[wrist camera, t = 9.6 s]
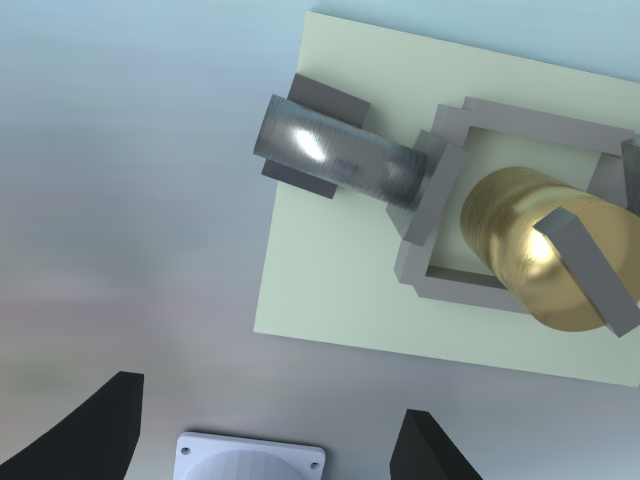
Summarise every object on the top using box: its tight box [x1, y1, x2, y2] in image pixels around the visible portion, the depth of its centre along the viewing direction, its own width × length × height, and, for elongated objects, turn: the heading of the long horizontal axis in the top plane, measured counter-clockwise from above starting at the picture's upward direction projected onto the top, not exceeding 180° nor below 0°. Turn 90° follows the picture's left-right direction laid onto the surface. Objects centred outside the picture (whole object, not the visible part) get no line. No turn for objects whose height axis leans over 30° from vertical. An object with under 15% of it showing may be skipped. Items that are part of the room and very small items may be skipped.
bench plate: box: [253, 11, 640, 387], centre depth 20 cm, size 14×20×2 cm
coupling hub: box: [460, 166, 640, 338], centre depth 17 cm, size 5×4×7 cm
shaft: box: [253, 73, 469, 247], centre depth 18 cm, size 7×4×5 cm, turn 69°
